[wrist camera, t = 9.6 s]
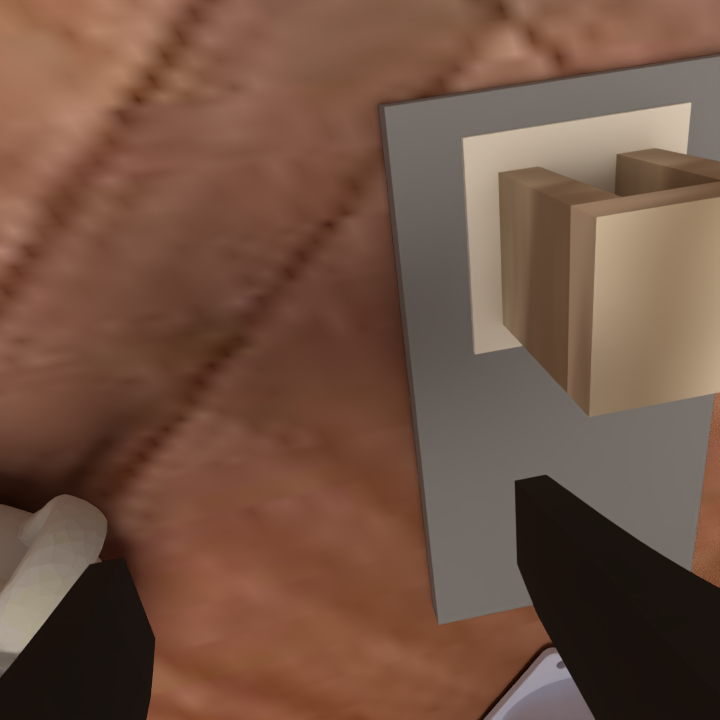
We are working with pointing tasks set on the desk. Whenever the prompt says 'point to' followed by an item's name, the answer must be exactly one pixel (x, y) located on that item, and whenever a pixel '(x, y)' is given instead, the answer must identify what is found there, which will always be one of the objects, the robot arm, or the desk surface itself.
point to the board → (501, 349)
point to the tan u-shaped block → (617, 278)
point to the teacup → (42, 564)
